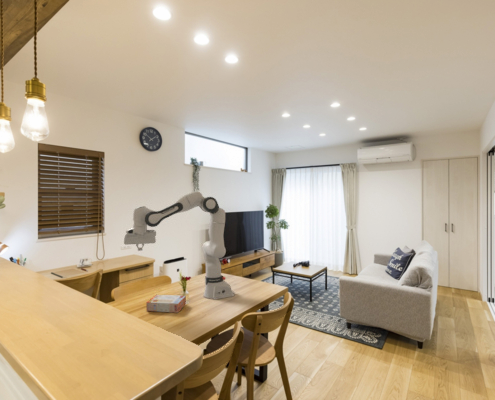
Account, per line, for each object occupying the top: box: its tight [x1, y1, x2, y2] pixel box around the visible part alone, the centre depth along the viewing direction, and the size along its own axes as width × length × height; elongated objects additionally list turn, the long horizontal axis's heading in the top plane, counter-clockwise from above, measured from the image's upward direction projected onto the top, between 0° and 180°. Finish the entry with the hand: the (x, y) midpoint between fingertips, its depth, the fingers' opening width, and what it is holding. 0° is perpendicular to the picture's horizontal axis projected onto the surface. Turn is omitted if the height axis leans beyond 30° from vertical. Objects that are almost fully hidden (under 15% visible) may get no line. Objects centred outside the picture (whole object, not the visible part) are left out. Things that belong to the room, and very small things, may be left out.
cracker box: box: [145, 294, 187, 313], centre depth 180 cm, size 14×6×21 cm
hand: (140, 250), depth 191 cm, fingers closed
